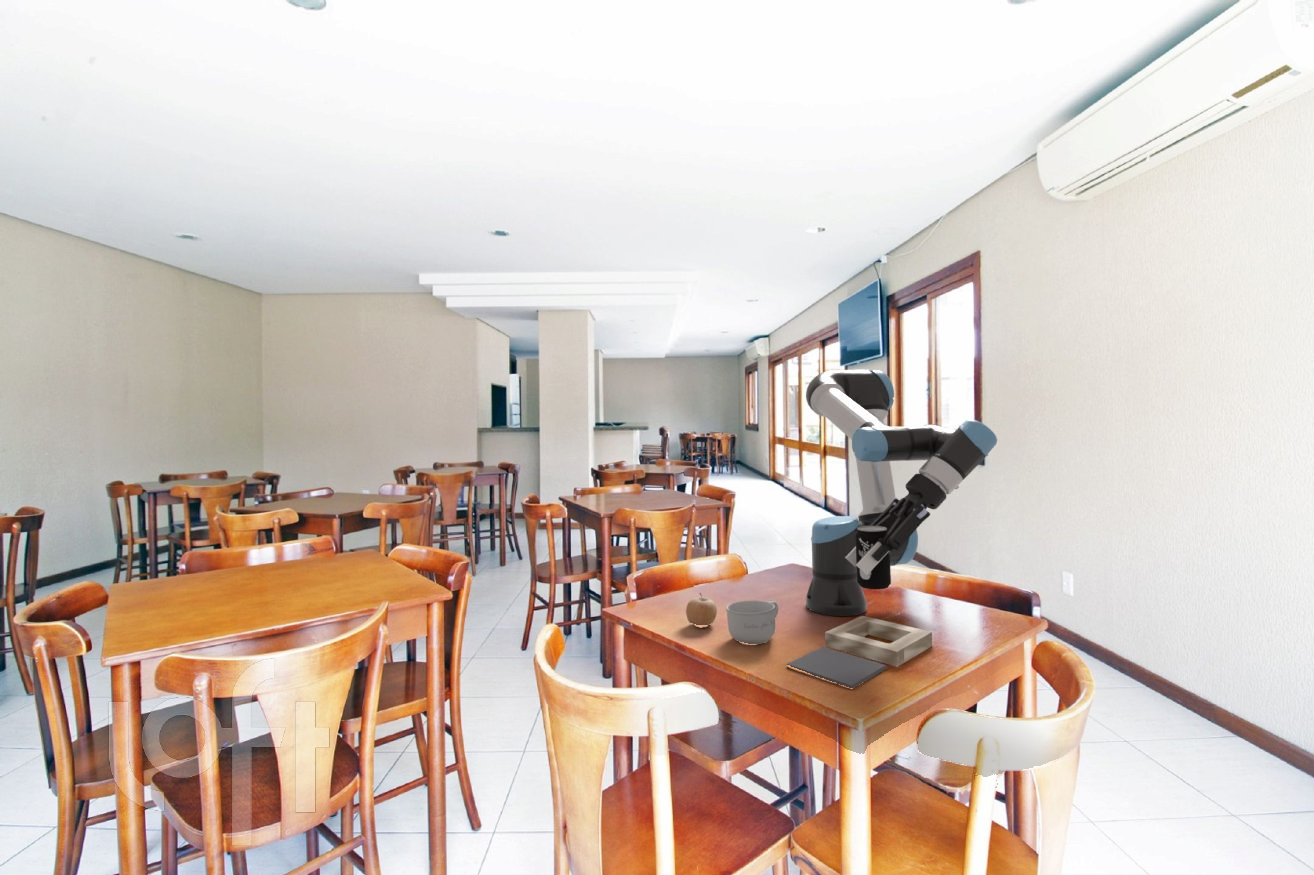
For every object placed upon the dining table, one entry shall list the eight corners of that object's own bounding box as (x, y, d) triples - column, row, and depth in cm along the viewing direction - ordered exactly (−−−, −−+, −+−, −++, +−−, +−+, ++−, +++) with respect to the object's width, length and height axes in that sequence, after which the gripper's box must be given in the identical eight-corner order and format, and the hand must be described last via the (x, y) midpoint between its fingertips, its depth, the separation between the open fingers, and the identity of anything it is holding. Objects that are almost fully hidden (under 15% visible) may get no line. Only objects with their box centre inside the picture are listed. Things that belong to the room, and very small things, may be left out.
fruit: (681, 623, 146) (680, 591, 146) (708, 619, 149) (707, 587, 148) (694, 633, 139) (694, 599, 139) (722, 628, 141) (722, 595, 141)
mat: (786, 667, 118) (786, 663, 118) (822, 650, 127) (822, 646, 127) (851, 689, 108) (851, 685, 108) (886, 669, 116) (886, 664, 116)
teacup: (745, 653, 126) (745, 615, 126) (717, 637, 136) (716, 602, 135) (797, 641, 132) (796, 605, 132) (766, 627, 142) (766, 593, 142)
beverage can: (894, 590, 119) (892, 530, 119) (860, 590, 121) (857, 530, 121) (887, 582, 126) (885, 525, 126) (855, 581, 127) (852, 525, 127)
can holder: (825, 646, 129) (824, 632, 129) (862, 628, 140) (862, 615, 140) (897, 666, 117) (897, 651, 117) (932, 645, 128) (932, 631, 128)
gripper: (970, 502, 113) (886, 590, 114) (925, 492, 133) (854, 567, 133) (940, 474, 113) (857, 563, 114) (900, 469, 133) (829, 544, 133)
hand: (855, 565), depth 123 cm, fingers closed on beverage can, 6 cm apart
